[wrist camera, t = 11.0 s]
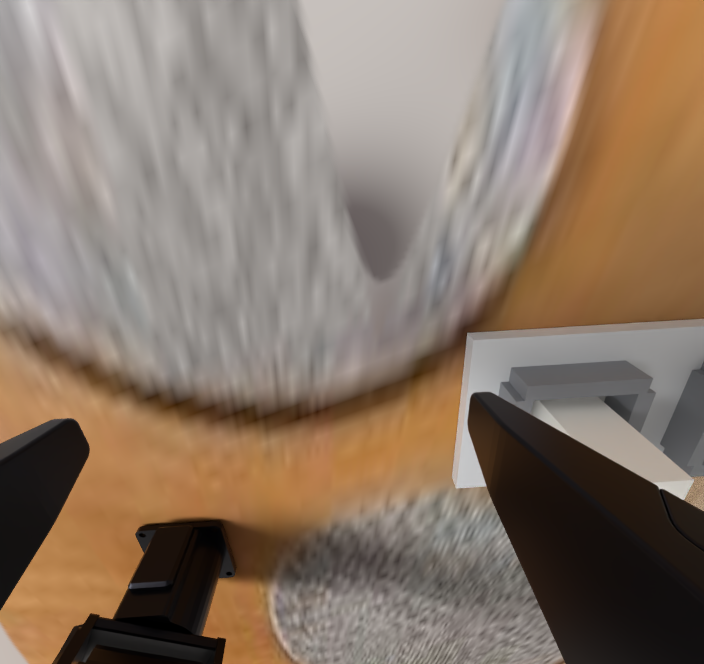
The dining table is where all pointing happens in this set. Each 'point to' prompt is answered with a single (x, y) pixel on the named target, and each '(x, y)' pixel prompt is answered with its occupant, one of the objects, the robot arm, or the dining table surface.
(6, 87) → the dining table surface
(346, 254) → the dining table surface
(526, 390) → the housing
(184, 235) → the dining table surface
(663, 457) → the cream rectangular block
